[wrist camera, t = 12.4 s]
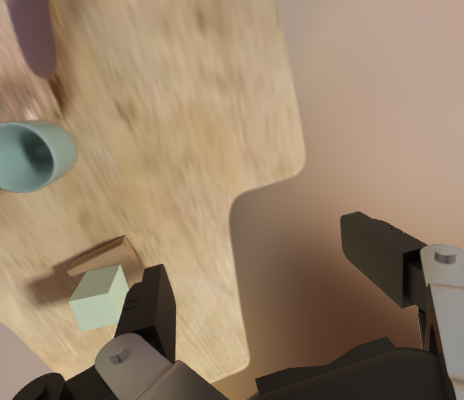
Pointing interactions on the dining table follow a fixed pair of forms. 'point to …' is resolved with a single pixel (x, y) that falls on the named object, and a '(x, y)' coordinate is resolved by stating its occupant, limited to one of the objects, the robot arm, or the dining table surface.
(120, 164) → the dining table surface
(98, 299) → the green block
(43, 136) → the cup
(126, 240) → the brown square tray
